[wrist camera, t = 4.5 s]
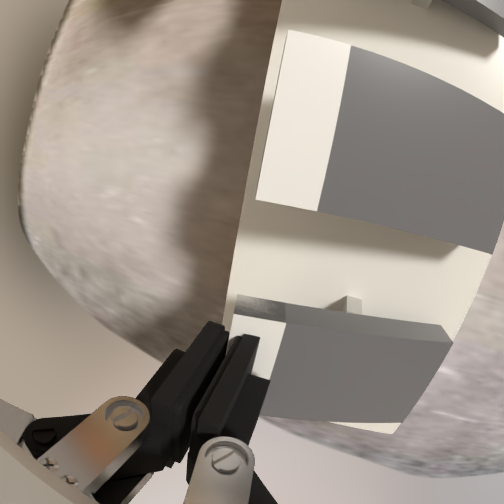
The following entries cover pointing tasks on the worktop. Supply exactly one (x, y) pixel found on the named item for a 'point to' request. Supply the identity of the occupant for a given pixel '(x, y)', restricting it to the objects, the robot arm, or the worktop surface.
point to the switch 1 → (383, 145)
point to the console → (354, 231)
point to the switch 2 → (338, 361)
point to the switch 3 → (483, 12)
